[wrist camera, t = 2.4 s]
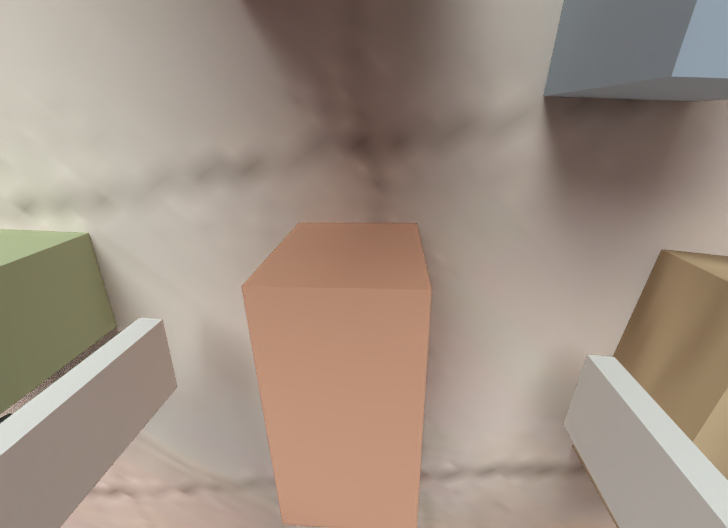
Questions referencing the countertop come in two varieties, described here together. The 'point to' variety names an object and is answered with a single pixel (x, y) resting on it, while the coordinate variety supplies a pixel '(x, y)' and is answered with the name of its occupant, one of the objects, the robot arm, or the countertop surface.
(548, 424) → the countertop surface
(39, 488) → the robot arm
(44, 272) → the olive brick
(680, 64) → the slate blue brick
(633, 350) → the oak double brick
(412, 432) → the terracotta brick
